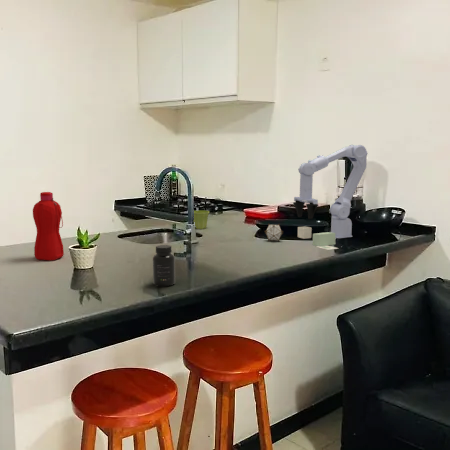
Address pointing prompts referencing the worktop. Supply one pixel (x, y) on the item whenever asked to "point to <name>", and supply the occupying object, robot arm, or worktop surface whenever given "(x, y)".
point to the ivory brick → (304, 232)
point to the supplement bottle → (163, 266)
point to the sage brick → (324, 239)
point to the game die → (273, 232)
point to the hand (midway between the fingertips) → (305, 217)
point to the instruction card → (327, 247)
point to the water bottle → (47, 228)
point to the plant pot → (201, 219)
